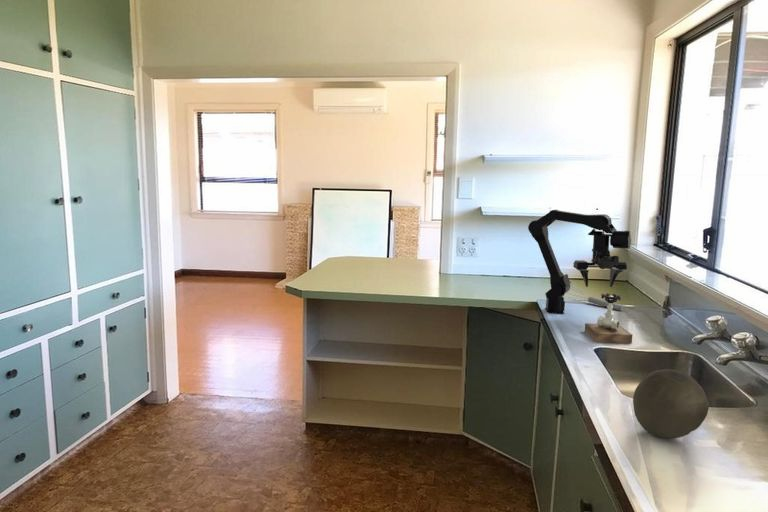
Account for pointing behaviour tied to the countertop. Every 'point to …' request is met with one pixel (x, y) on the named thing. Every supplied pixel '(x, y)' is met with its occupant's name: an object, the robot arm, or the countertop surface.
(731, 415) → the countertop surface
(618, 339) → the walnut plinth
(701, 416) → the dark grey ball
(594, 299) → the kitchen whisk
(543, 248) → the robot arm
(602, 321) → the valve
